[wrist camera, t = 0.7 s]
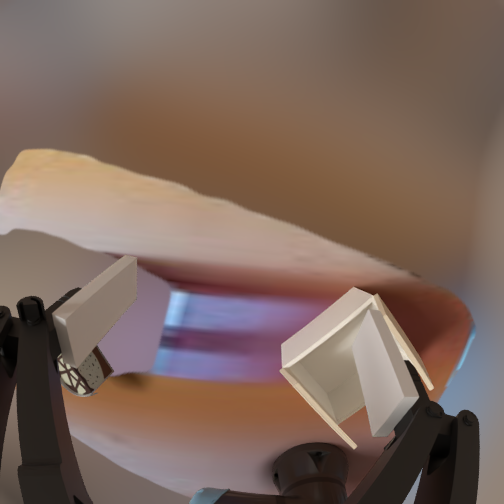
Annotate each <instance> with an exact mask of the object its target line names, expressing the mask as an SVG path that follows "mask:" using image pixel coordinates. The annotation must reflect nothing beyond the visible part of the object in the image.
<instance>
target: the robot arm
mask: <svg viewBox="0 0 504 504" xmlns="http://www.w3.org/2000/svg"><path fill="white" fill-rule="evenodd" d="M136 300H137V258H136V257H132V256H129V255H125V256H123V257H122V258H121V259H119V260H118V261H117V262H116V263H114V264H113V265H111V266H110V267H109V268H108V269H106V270H105V271H104V272H102V273H101V274H100V275H99V276H97V277H96V278H95V279H93V280H92V281H91V282H90V283H88V284H87V285H86V286H85V287H83V288H75V289H73V290H70V291H69V292H68V293H66V294H65V295H64V296H63V297H61V298H60V299H59V300H58V301H56V302H55V303H54V304H53V305H51V306H50V307H49V308H48V309H46V310H45V309H44V305H43V301H42V299H41V298H39V297H36V296H29V297H25V298H23V299H21V300H20V301H19V302H18V303H17V305H16V306H17V310H18V314H19V318H16V317H12V316H11V313H10V309H9V308H8V307H6V306H0V468H1V459H2V451H3V443H4V437H5V431H6V426H7V420H8V415H9V410H10V406H11V402H12V398H13V394H14V390H15V386H16V383H17V416H18V431H19V441H20V448H21V456H22V465H20V466H18V478H19V484H20V488H21V493H22V497H23V501H24V504H93V502H92V501H91V499H90V497H89V495H88V493H87V491H86V488H85V485H84V482H83V479H82V476H81V473H80V470H79V467H78V463H77V460H76V457H75V452H74V449H73V445H72V441H71V436H70V432H69V428H68V423H67V418H66V413H65V407H64V401H63V395H62V388H61V381H60V373H59V363H58V360H57V358H58V356H59V355H60V354H61V353H62V357H63V360H64V363H66V364H68V365H70V366H72V367H74V368H76V369H77V368H78V367H79V366H80V364H81V363H82V362H83V361H84V360H85V358H86V357H87V356H88V355H89V354H90V352H91V351H92V350H93V349H94V348H95V346H96V345H97V344H98V343H99V342H100V341H101V339H102V338H103V337H104V336H105V335H106V333H107V332H108V331H109V330H110V329H111V328H112V327H113V325H114V324H115V323H116V322H117V321H118V320H119V319H120V318H121V316H122V315H123V314H124V313H125V312H126V311H127V310H128V308H129V307H130V306H131V305H132V304H133V303H134V302H135V301H136ZM351 348H352V351H353V355H354V359H355V363H356V367H357V371H358V375H359V379H360V383H361V387H362V391H363V395H364V400H365V404H366V409H367V413H368V418H369V423H370V427H371V432H372V437H387V436H388V435H389V434H390V433H391V432H392V431H393V429H394V431H395V435H396V436H395V437H394V438H393V439H392V440H391V441H390V442H389V443H388V444H387V445H386V447H385V448H384V449H385V451H384V452H383V454H382V455H381V456H380V458H379V459H378V461H377V462H376V463H375V465H374V466H373V467H372V469H371V470H370V471H369V473H368V474H367V475H366V477H365V478H364V479H363V480H362V482H361V483H360V484H359V485H358V487H357V488H356V489H355V490H354V491H353V492H352V494H351V495H350V496H349V497H347V493H346V490H345V483H346V479H347V474H348V462H347V459H346V456H345V454H344V453H343V451H342V450H340V449H339V448H337V447H335V446H333V445H330V444H325V443H309V444H303V445H299V446H296V447H294V448H291V449H289V450H288V451H286V452H284V453H283V454H282V455H281V456H280V457H279V458H278V459H277V460H276V461H275V463H274V466H273V481H274V484H275V486H276V488H277V490H278V492H279V494H280V495H266V494H255V493H246V492H238V491H231V490H230V489H216V488H209V487H207V488H202V489H200V490H199V491H197V492H196V494H195V495H194V496H193V498H192V499H191V501H190V503H189V504H402V503H403V502H404V500H405V498H406V497H407V495H408V493H409V492H410V490H411V488H412V486H413V485H414V483H415V481H416V479H417V477H418V475H419V473H420V472H421V469H422V468H423V469H422V474H421V478H420V482H419V486H418V490H417V494H416V497H415V501H414V504H476V500H477V490H478V478H479V449H480V446H479V445H480V444H479V422H478V419H477V417H476V415H475V414H473V413H472V412H470V411H469V410H462V411H460V412H459V414H458V415H457V416H456V417H454V416H450V415H447V414H445V413H444V410H443V409H442V407H441V406H440V405H439V404H437V403H436V402H433V401H430V400H429V397H428V395H427V393H426V390H425V388H424V386H423V384H422V382H421V379H420V377H419V376H418V372H417V370H416V368H415V367H414V365H413V364H412V363H411V362H410V361H409V360H403V357H402V355H401V353H400V351H399V349H398V346H397V344H396V342H395V340H394V338H393V336H392V334H391V332H390V330H389V327H388V325H387V323H386V321H385V319H384V317H383V315H382V313H381V311H379V310H373V309H368V311H367V313H366V316H365V318H364V320H363V323H362V325H361V327H360V329H359V332H358V334H357V336H356V338H355V340H354V343H353V345H352V347H351Z"/></svg>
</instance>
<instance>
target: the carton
mask: <svg viewBox="0 0 504 504" xmlns="http://www.w3.org/2000/svg"><path fill="white" fill-rule="evenodd" d="M368 309H373V310H379V309H378V307H377V304H376V301H375V299H374V296H373V295H371V294H369V293H367V292H364V291H362V290H360V289H357V288H355V287H353V288H352V289H350V290H349V291H348V292H347V293H346V294H344V295H343V296H342V297H341V298H340V299H339V300H337V301H336V302H335V303H334V304H332V305H331V306H330V307H329V308H328V309H326V310H325V311H324V312H323V313H321V314H320V315H319V316H318V317H316V318H315V319H314V320H313V321H311V322H310V323H309V324H307V325H306V326H305V327H304V328H302V329H301V330H300V331H298V332H297V333H296V334H294V335H293V336H292V337H291V338H289V339H288V340H286V341H285V342H284V343H282V344H281V352H282V368H283V369H284V370H285V371H286V372H287V373H288V374H290V375H291V376H292V377H293V378H294V379H295V380H296V381H297V382H298V383H299V384H300V385H301V386H302V388H303V389H304V390H305V391H306V392H307V393H308V394H309V395H310V396H311V397H312V399H313V400H314V401H315V402H316V403H317V404H318V405H319V406H320V407H321V408H322V409H323V411H324V412H325V413H326V414H327V415H328V416H329V417H330V418H331V419H332V420H333V421H334V422H335V423H336V424H337V425H338V424H340V423H341V422H342V421H344V420H345V419H347V418H348V417H350V416H351V415H353V414H354V413H356V412H357V411H358V410H360V409H361V408H363V407H364V406H365V405H366V404H365V400H364V395H363V391H362V387H361V383H360V379H359V375H358V371H357V367H356V363H355V359H354V355H353V351H352V348H351V347H352V345H353V343H354V340H355V338H356V336H357V334H358V332H359V329H360V327H361V325H362V323H363V320H364V318H365V316H366V313H367V311H368ZM389 330H390V329H389ZM390 332H391V331H390ZM391 334H392V336H393V338H394V340H395V342H396V344H397V346H398V349H399V351H400V353H401V355H402V357H403V360H409V361H410V362H411V360H410V359H409V357H408V356H407V354H406V353H405V351H404V350H403V348H402V347H401V345H400V344H399V342H398V341H397V339H396V338H395V336H394V335H393V333H392V332H391ZM411 363H412V362H411ZM412 364H413V363H412Z"/></svg>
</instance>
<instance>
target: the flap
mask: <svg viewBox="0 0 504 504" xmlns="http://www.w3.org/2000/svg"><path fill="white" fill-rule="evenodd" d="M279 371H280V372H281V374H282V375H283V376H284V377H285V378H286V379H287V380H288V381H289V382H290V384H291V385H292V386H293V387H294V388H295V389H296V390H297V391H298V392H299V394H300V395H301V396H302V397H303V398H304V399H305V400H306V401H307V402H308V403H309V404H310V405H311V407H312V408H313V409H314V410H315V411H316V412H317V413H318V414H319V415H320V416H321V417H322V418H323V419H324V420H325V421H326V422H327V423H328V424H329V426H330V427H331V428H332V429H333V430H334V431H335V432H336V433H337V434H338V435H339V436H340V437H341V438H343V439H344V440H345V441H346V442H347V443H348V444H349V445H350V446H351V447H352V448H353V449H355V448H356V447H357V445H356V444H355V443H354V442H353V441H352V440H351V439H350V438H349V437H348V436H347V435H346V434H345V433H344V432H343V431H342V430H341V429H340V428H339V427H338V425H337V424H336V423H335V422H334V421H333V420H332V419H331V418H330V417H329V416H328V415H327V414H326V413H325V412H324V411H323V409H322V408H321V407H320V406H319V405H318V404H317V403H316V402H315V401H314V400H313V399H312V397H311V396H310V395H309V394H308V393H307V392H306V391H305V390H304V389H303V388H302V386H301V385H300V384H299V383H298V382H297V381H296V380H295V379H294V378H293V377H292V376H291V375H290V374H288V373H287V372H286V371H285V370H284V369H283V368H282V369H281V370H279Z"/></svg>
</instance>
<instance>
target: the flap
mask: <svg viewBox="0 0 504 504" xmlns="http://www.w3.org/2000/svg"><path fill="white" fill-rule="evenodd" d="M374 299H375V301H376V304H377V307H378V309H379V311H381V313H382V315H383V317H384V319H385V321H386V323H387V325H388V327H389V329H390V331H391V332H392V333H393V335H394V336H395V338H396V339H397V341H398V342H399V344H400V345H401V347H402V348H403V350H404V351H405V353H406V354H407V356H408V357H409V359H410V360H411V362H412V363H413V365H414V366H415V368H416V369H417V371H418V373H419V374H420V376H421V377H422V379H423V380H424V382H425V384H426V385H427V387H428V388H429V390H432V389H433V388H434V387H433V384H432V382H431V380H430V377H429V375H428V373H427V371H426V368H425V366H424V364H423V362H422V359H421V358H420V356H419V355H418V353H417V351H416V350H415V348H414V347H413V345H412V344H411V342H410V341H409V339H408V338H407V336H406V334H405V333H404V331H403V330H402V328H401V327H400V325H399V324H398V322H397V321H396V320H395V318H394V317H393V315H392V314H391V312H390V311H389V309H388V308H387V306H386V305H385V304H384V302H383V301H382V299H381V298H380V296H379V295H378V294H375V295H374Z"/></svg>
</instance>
